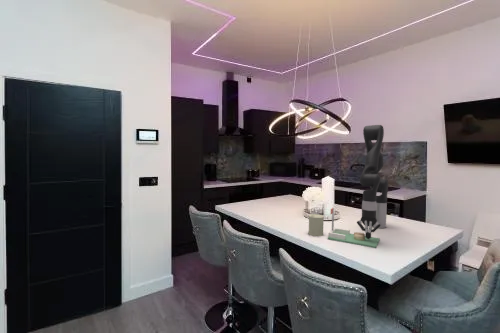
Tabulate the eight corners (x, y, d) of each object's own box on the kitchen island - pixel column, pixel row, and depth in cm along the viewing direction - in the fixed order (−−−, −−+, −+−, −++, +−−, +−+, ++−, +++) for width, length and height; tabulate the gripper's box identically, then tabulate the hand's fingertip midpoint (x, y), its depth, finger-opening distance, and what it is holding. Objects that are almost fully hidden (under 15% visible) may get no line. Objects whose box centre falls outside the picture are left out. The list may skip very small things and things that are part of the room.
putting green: (334, 232, 170) (334, 230, 170) (379, 239, 156) (379, 238, 156) (327, 239, 157) (327, 237, 157) (375, 248, 143) (375, 246, 143)
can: (305, 232, 169) (305, 214, 169) (317, 231, 172) (318, 213, 172) (313, 237, 161) (314, 217, 160) (326, 235, 164) (327, 216, 163)
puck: (355, 236, 159) (355, 231, 159) (365, 238, 156) (366, 233, 155) (352, 239, 154) (352, 234, 154) (363, 241, 151) (363, 236, 150)
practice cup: (334, 231, 169) (334, 205, 168) (349, 234, 164) (350, 207, 163) (328, 236, 158) (329, 209, 157) (344, 239, 153) (345, 211, 152)
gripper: (382, 208, 151) (381, 238, 152) (357, 206, 158) (357, 235, 159) (381, 211, 145) (380, 242, 145) (355, 208, 151) (354, 238, 152)
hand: (368, 238), depth 152 cm, fingers closed
